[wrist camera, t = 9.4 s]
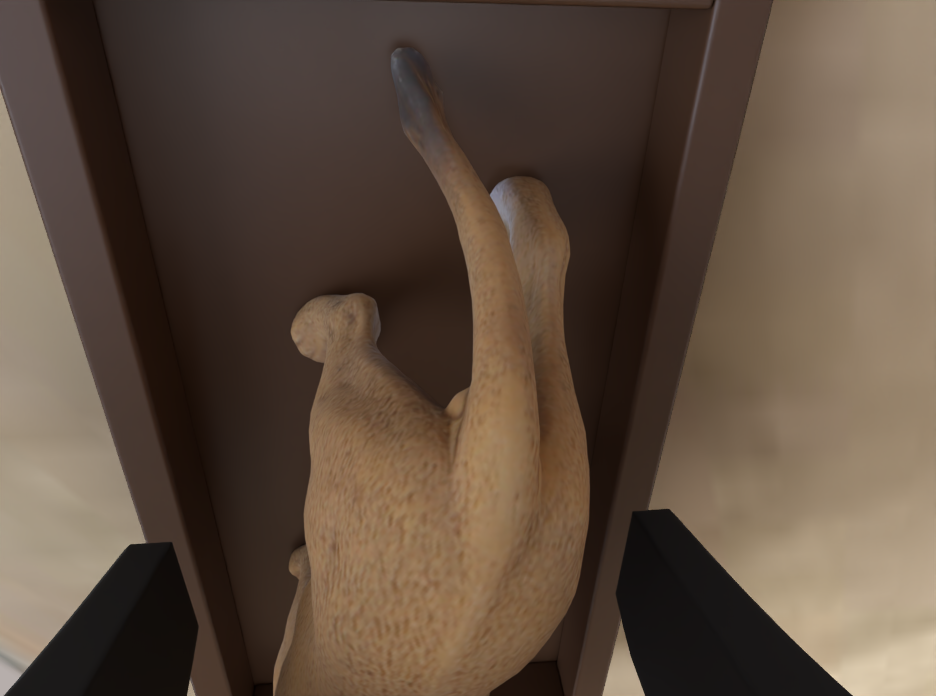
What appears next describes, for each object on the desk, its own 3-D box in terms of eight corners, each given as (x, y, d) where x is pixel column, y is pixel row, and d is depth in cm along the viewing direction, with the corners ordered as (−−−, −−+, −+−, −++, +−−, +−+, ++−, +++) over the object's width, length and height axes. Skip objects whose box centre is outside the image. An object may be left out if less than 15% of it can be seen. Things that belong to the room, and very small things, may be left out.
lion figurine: (503, 649, 18) (593, 1193, 10) (297, 664, 17) (228, 1256, 9) (573, 46, 10) (1210, 433, 2) (199, 34, 9) (-648, 505, 2)
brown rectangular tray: (717, -63, 10) (791, -61, 8) (575, 655, 19) (595, 728, 17) (27, -91, 9) (-64, -97, 7) (232, 682, 18) (215, 763, 16)
